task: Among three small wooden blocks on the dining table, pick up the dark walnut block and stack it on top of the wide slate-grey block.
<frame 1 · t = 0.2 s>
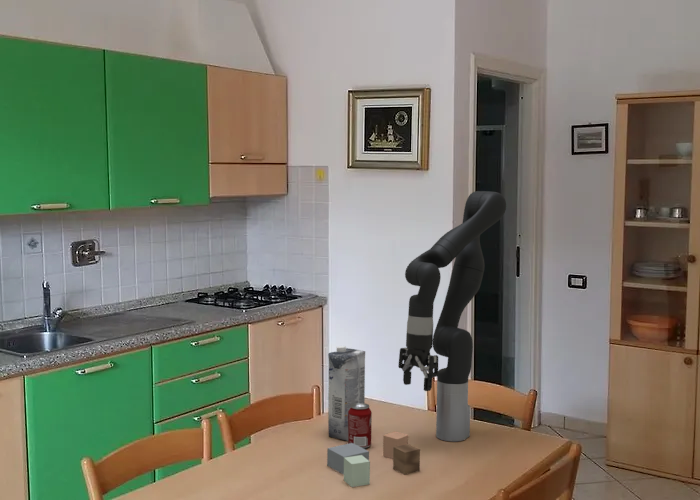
hand: (417, 387, 226), 17 cm above the table, tool pointing down, fingers open, 8 cm apart
pale green block: (356, 482, 200), on the table
soda can: (359, 446, 227), on the table
walnut block: (406, 470, 209), on the table
juice carton: (346, 436, 236), on the table
tan block: (395, 456, 219), on the table
grey base block: (347, 467, 210), on the table
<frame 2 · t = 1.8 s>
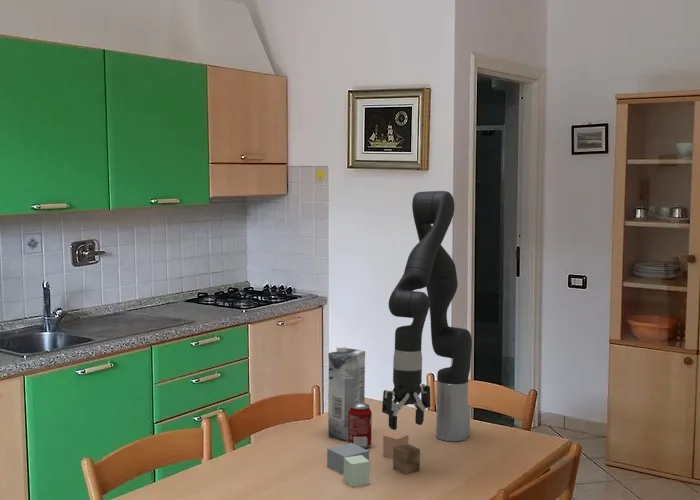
hand: (406, 426, 208), 12 cm above the table, tool pointing down, fingers open, 8 cm apart
nothing on the table moved.
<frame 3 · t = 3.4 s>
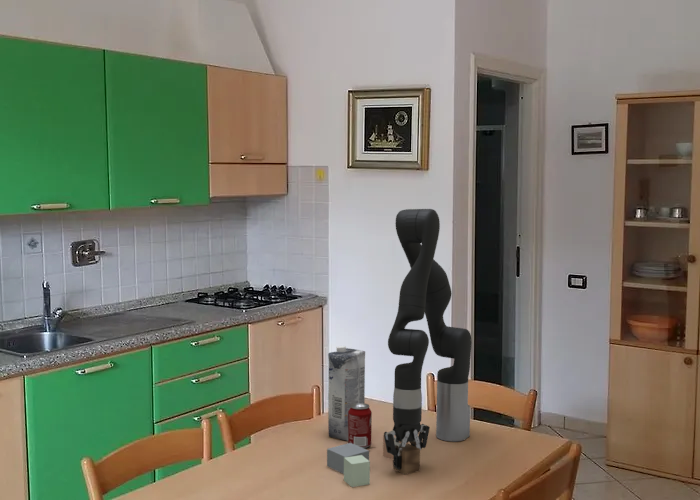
hand: (406, 466, 209), 1 cm above the table, tool pointing down, fingers closed on walnut block, 5 cm apart
walnut block: (406, 469, 209), on the table, touching gripper
everything else where it was.
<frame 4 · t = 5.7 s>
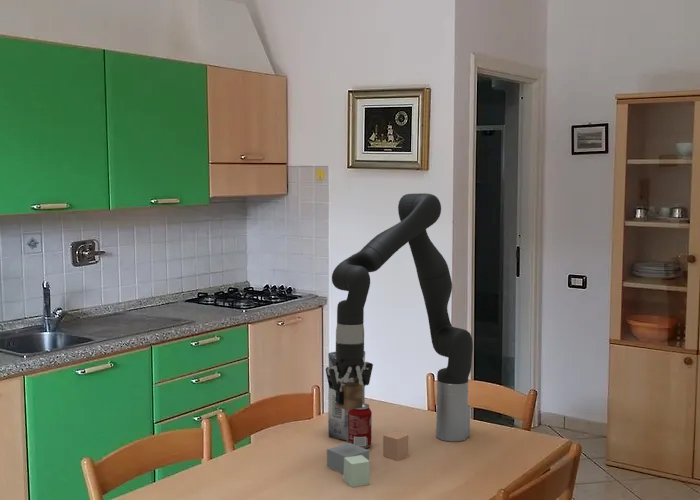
hand: (349, 402, 208), 18 cm above the table, tool pointing down, fingers closed on walnut block, 5 cm apart
walnut block: (349, 406, 209), point 17 cm above the table, touching gripper
everything else where it was.
when the fingers open (7 cm above the table, at t = 8.0 s): walnut block drops 2 cm, resting on grey base block.
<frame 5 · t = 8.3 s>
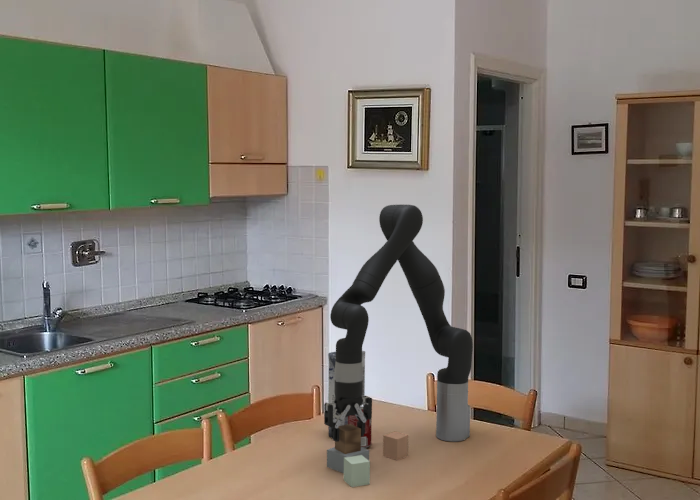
hand: (348, 438, 210), 8 cm above the table, tool pointing down, fingers open, 7 cm apart
walnut block: (347, 449, 210), point 5 cm above the table, touching grey base block
grey base block: (347, 467, 210), on the table, touching walnut block
everything else where it was.
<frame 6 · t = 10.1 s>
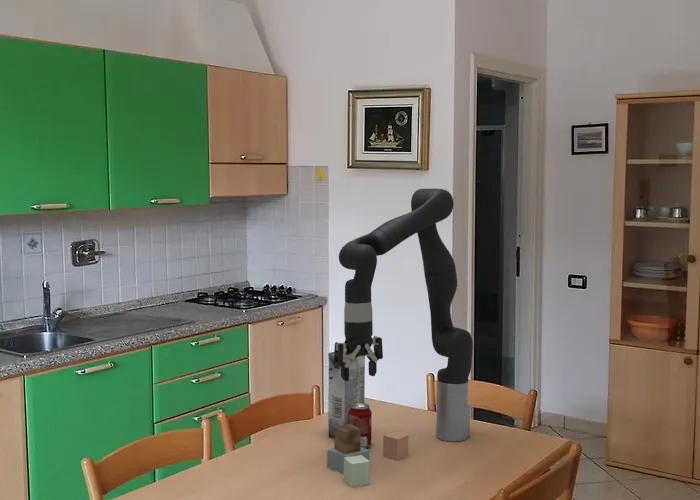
hand: (358, 378, 210), 24 cm above the table, tool pointing down, fingers open, 8 cm apart
walnut block: (347, 449, 210), point 5 cm above the table
grey base block: (348, 468, 210), on the table
everything else where it was.
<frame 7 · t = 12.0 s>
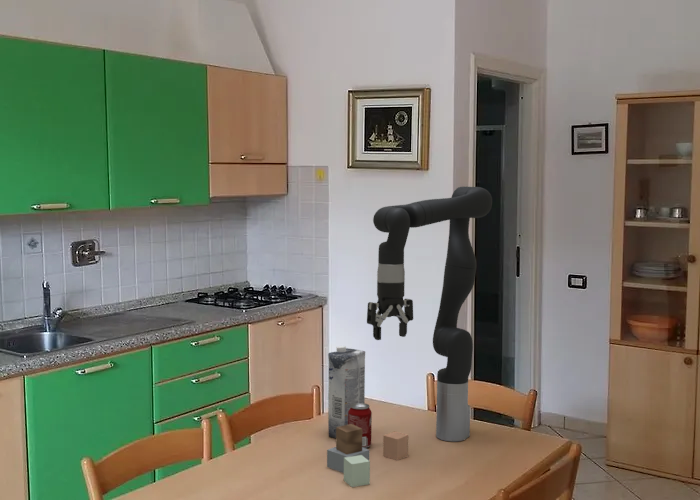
hand: (390, 338, 217), 33 cm above the table, tool pointing down, fingers open, 8 cm apart
walnut block: (349, 449, 210), point 5 cm above the table, touching grey base block
grey base block: (348, 467, 210), on the table, touching walnut block
everything else where it was.
at the end: walnut block 0.2 cm off-centre on the grey base block, point 5.0 cm above the grey base block's base; walnut block tilted 0°; the gripper is holding nothing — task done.
